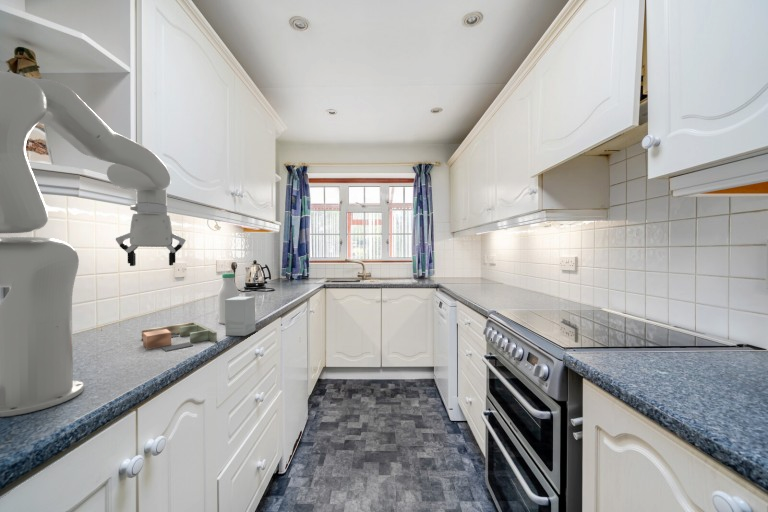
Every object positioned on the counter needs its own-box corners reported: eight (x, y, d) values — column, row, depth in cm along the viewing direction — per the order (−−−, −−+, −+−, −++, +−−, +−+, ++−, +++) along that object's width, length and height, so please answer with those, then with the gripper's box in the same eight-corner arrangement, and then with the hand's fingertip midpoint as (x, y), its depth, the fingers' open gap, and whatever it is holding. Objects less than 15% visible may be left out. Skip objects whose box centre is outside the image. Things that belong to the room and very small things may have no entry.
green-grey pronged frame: (157, 353, 85) (157, 343, 85) (141, 339, 99) (141, 330, 99) (216, 341, 97) (216, 332, 97) (194, 330, 111) (194, 321, 111)
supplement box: (256, 330, 110) (256, 296, 110) (244, 336, 103) (244, 299, 103) (237, 330, 111) (236, 296, 111) (224, 335, 103) (224, 299, 103)
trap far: (153, 341, 97) (153, 340, 97) (149, 338, 100) (149, 337, 100) (178, 336, 102) (178, 335, 102) (174, 334, 105) (174, 333, 105)
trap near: (165, 351, 87) (165, 350, 87) (161, 348, 90) (161, 347, 90) (193, 346, 92) (193, 345, 92) (188, 343, 95) (188, 342, 95)
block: (147, 349, 89) (146, 336, 89) (143, 345, 93) (143, 332, 93) (171, 345, 94) (171, 332, 94) (166, 341, 98) (166, 328, 98)
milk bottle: (240, 322, 122) (239, 273, 122) (218, 325, 118) (218, 274, 118) (238, 319, 129) (238, 272, 129) (217, 321, 125) (217, 273, 125)
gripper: (111, 207, 86) (112, 266, 86) (183, 211, 94) (184, 265, 94) (119, 210, 93) (120, 265, 93) (186, 213, 101) (186, 264, 101)
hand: (152, 265), depth 94 cm, fingers open, 9 cm apart
